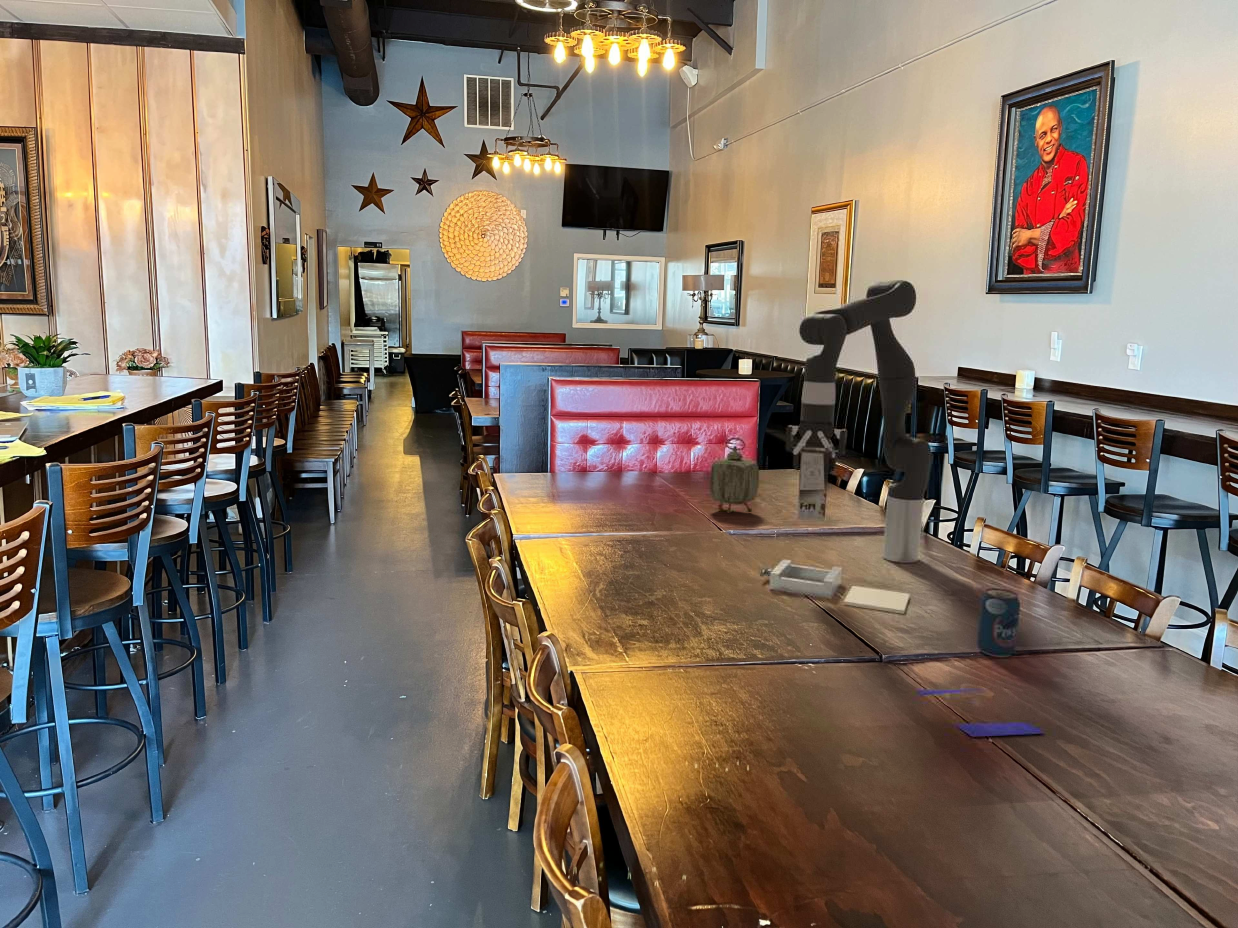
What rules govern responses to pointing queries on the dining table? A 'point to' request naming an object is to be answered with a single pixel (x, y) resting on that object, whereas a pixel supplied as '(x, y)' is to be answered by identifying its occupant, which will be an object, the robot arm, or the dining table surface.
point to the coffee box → (813, 484)
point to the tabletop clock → (734, 479)
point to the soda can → (998, 622)
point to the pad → (877, 599)
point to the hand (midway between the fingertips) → (813, 471)
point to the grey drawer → (804, 579)
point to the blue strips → (988, 728)
